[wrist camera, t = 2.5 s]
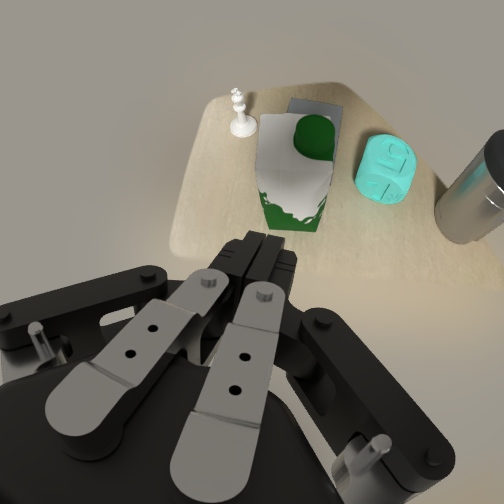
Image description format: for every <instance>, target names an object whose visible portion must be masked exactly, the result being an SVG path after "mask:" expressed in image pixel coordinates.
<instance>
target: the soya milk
mask: <svg viewBox="0 0 504 504" xmlns="http://www.w3.org/2000/svg"><path fill="white" fill-rule="evenodd" d="M334 138H335V127H334V124H333V123H332V122H331V118H330V116H321V115H316V114H311V115H305V114H293V113H283V114H261V118H260V126H259V135H258V144H257V153H256V161H255V174H256V179H257V184H258V190H259V195H260V200H261V204H262V208H263V211H264V214H265V218H266V221H267V224H268V227H269V229H274V230H291V231H308V232H316V230H317V227H318V224H319V221H320V219H321V216H322V213H323V210H324V206H325V203H326V198H327V194H328V190H329V185H330V181H331V176H332V173H333V163H332V162H334V160H333V154H334V150H335V139H334Z"/></svg>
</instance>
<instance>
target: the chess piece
mask: <svg viewBox="0 0 504 504" xmlns="http://www.w3.org/2000/svg"><path fill="white" fill-rule="evenodd" d="M231 93H233V94H234V95H233V96H232V97H231V99H232V101H233V102H234V103H235V104H234V106H233V109H234V110H235V111H237V113H238V117H236V118H235V119H234V120H233V121H232V122H231V125H230V130H231V132H232V134H233V135H235V136H237V137H248V136H250V135H252V134H253V133H254V132H255V131H256V130H257V123H256V120H255V119H254V118H253V117H251V116H248V115H245V113H244V111H243V110H245V108H246V105H245V104H244V103H243V99H244V96H243V95H242V93H241V92H239V91H238V89H237V88H235V89H234V90H232V91H231Z"/></svg>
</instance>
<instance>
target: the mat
mask: <svg viewBox="0 0 504 504" xmlns="http://www.w3.org/2000/svg"><path fill="white" fill-rule="evenodd" d="M342 109H343V107H342V106H337V105H332V104H327V103H321V102H315V101H310V100H304V99H297V98H291V100H290V104H289V107H288V111H287V113H293V114H305V115H311V114H316V115H321V116H330V118H331V122H332V123H333V124H334V127H335V138H334V139H335V150H334V154H333V160H334V162H335V156H336V150H337V143H338V137H339V130H340V123H341V116H342ZM334 162H332V163H333V168H334ZM332 174H333V173H332ZM331 180H332V176H331ZM330 185H331V181H330ZM330 185H329V186H330Z"/></svg>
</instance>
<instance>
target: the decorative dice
mask: <svg viewBox="0 0 504 504" xmlns="http://www.w3.org/2000/svg"><path fill="white" fill-rule="evenodd" d="M416 164H417V158H416V155H415V153H414V152H413V150H412V149H411V148H410V146H409V145H408V144H407V143H405V142H404V141H403V140H401V139H400V138H398V137H395V136H392V135H387V134H380V135H374V136H371V137H369V139H368V142H367V145H366V148H365V151H364V154H363V157H362V160H361V163H360V166H359V169H358V172H357V175H356V178H355V181H354V183H355V185H356V187H357V188H358V190H359V191H360V192H361V193H362V194H363V195H364V196H366V197H367V198H369V199H371V200H373V201H376V202H379V203H384V204H395V203H398V202H400V201H402V200H403V199H404V197H405V196H406V194H407V192H408V190H409V187H410V185H411V182H412V180H413V176H414V173H415V169H416Z"/></svg>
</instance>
